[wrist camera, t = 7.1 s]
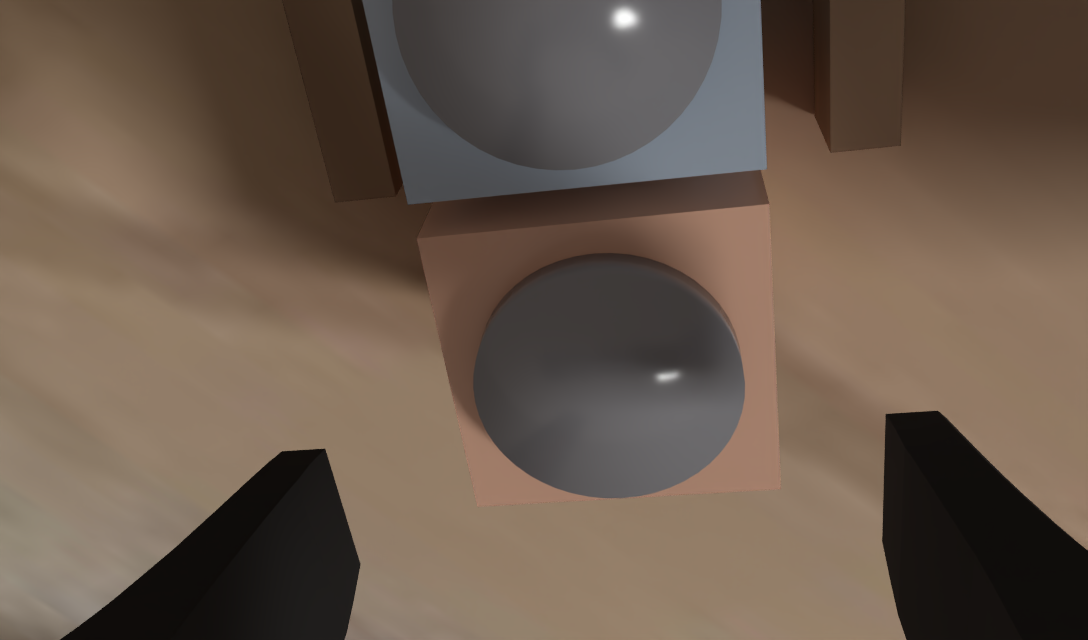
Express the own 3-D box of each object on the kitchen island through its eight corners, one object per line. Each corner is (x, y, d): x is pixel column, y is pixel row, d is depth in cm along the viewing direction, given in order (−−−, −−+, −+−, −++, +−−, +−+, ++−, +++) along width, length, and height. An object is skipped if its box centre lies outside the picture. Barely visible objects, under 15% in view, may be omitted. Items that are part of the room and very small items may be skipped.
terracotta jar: (746, 295, 22) (785, 513, 16) (518, 315, 23) (472, 531, 17) (734, 68, 20) (774, 222, 13) (479, 98, 20) (408, 257, 14)
